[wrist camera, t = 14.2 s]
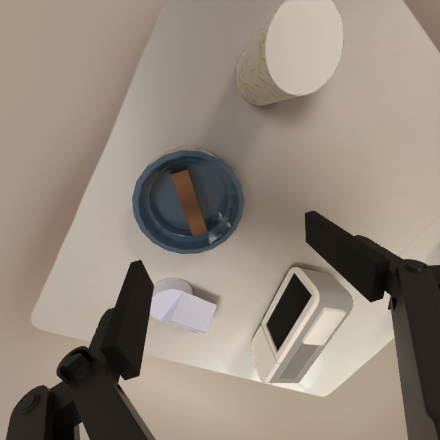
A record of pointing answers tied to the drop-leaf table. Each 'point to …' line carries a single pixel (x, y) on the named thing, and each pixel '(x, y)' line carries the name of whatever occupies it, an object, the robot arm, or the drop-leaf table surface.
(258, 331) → the alarm clock
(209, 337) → the drop-leaf table surface
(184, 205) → the stick
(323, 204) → the drop-leaf table surface
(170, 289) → the wedge on round base
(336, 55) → the white patterned canister
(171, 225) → the bowl
